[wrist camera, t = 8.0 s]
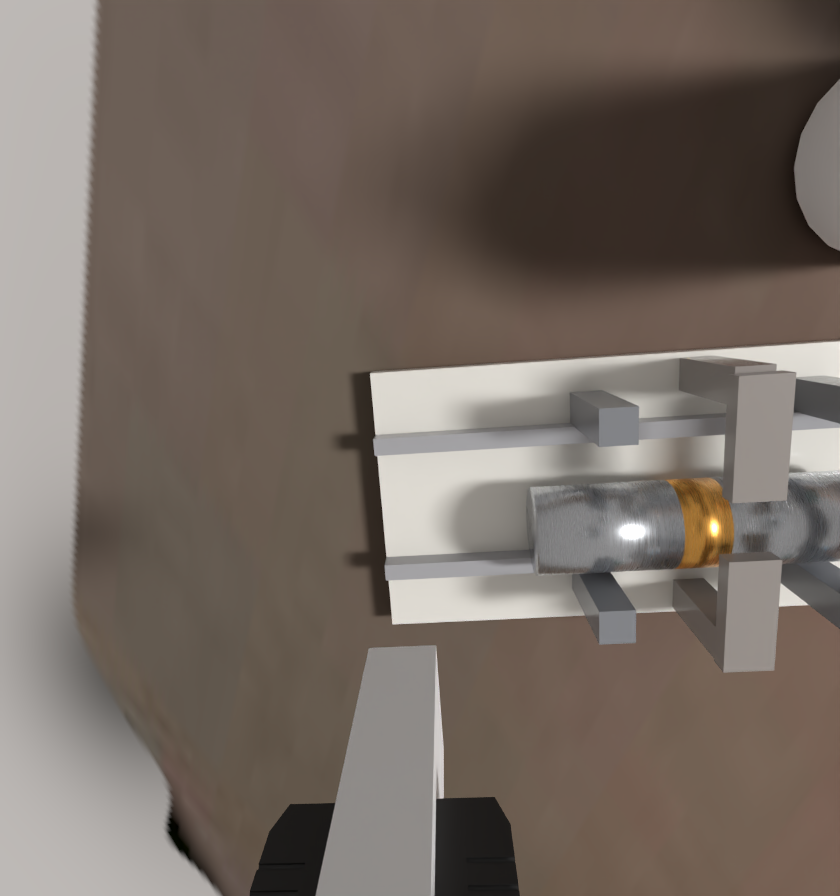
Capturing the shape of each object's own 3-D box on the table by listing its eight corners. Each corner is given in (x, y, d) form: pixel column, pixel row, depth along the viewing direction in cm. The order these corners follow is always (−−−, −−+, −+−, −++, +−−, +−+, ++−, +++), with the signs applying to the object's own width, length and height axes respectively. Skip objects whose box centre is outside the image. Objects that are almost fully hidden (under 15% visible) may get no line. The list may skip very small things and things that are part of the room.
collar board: (372, 371, 28) (350, 388, 21) (884, 336, 26) (1039, 342, 20) (394, 614, 30) (380, 700, 24) (857, 592, 29) (984, 676, 22)
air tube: (524, 525, 29) (537, 593, 26) (528, 469, 26) (543, 537, 23) (809, 510, 28) (855, 578, 25) (843, 451, 25) (899, 519, 22)
